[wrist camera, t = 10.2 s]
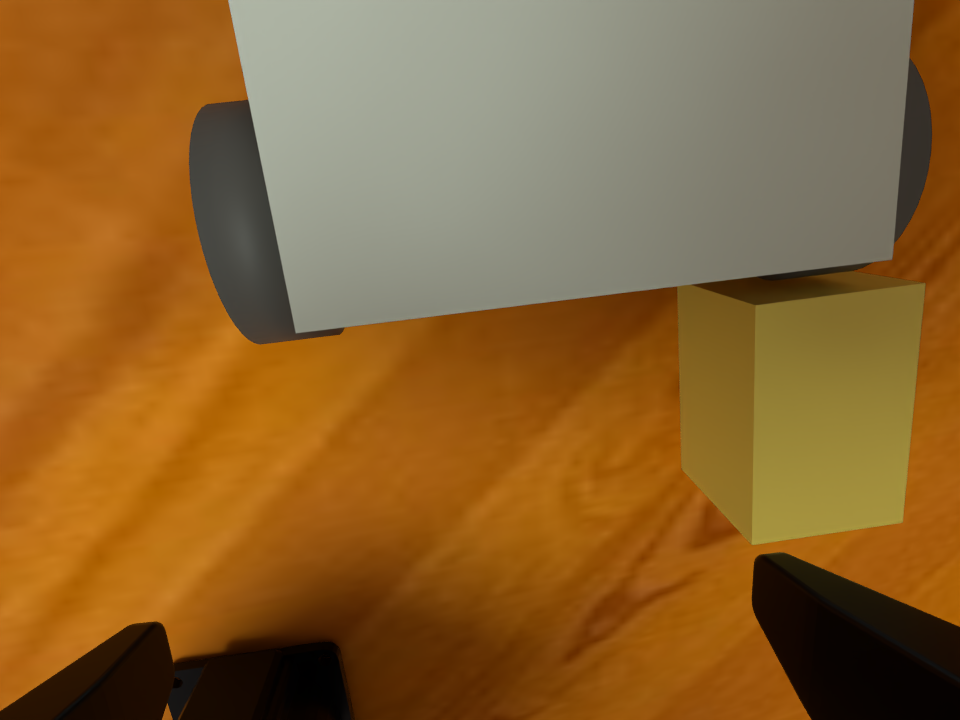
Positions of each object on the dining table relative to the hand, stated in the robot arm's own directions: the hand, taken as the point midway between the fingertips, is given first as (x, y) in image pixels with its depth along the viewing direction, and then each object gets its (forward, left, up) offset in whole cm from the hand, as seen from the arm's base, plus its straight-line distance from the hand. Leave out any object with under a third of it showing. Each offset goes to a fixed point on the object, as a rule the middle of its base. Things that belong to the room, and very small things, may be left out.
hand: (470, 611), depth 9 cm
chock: (-1, -10, -11) cm, 15 cm away
